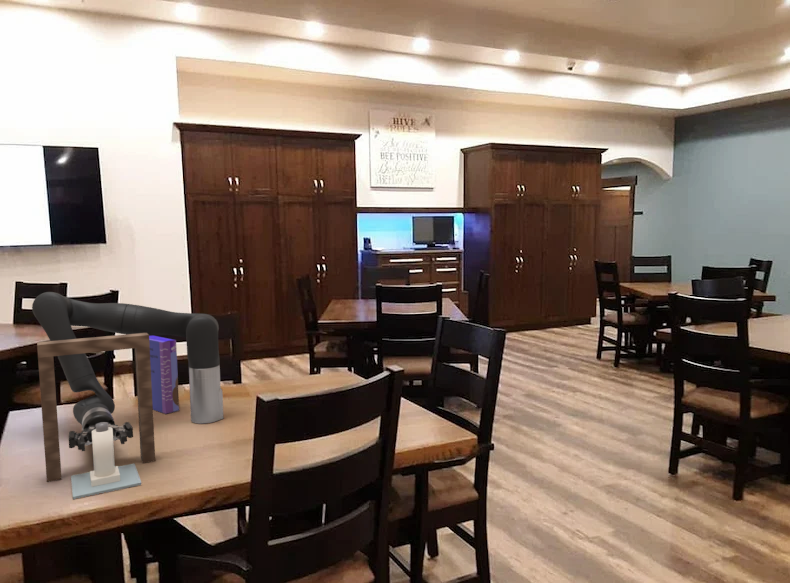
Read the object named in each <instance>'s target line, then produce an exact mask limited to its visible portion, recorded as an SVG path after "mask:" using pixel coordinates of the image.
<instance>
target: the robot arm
mask: <svg viewBox="0 0 790 583" xmlns="http://www.w3.org/2000/svg"><path fill="white" fill-rule="evenodd" d="M31 310H32V314H33V315H34V317H35V318H36V320H37V321H38V323H39V324H40V326H41V327H42V329H43V330H44V332H45V333H46V335H47V338H48V339H49V341H58V340H69V339H77V337H76V335H75V332H74V331H73V328H72V327H84V328H86V327H87V328H92V329H96V330H101V331H104V332H110V333H114V334H119V335H126V334H138V333H148V334H149V336H175V337H181V338H186V340H185V341H186V342H185V343H186V357H187V361H188V377H189V378H188V380H189V381H188V382H189V383H188V384H189V403H190V405H189V406H190V407H189V408H190V409H189V410H190V422H192V423H194V424H209V423H210V424H211V423H214V422H218V421H221V420H224V400H223V389H222V388H221V369H220V368H221V367H220V362H221V361H220V353H219V329H220V327H219V326H220V325H219V322H218V320H217V319H216V318H215V317H214V316H212V315H211V314H207V313H195V312H194V313H192V312H175V311H170V310H166V309H161V308H156V307H151V306H150V307H149V306H144V305H139V304H133V303H132V304H130V303H123V302H121V303H119V302H108V303H107V302H105V303H103V302H102V303H95V302H87V301H81V300H77V299H73V298H69V297H66V296H64V295H63V294H60V293H58V292H53V291H46V292H43V293H40V294H39V295H37V296H36V297H35V299H33V302H32V305H31ZM57 359H58V361H59V363H60V366H61V368H62V370H63V373H64V376H65V378H66V381H67V383H68V385H69V388H70V390H71V391H72V392H73V393H80V392H81V393H82V392H86V391H87V392H88V391H91V392H93V393H95V394H94V395H91V396H90V397H86V398H84V399H81V400H79V401H78V402H76V403H75V404H74V406H72V413H73V414H72V415H73V417H74V418H75V420H76V421H77V423H79V425H81V432H77V431H75V430H70V431H69V432H68V449H74V448H75V447H77V450H78V451H81V452H85V451H86V446H90V445H92V430H94V429H96V424H97V423H100V422H108V427H112V428H113V442H115V441H118V440H119V442H120V445H124V444H125V443H126V442H128V439H132V438H134V431H133V430H134V427H133V425H132V424H131V423H130V422H129V421H126V422H124V423H123V424H122V425H120V426H119V425H118V424H116V423H115V420H114V417H113V413H114V411H115V408H116V405H115V402H114V400H113V397H111V395H110V394H109V393H108V392H107V391H106V389H104V387H103V386H102V385H101V384H100V383H101V382H99V380H98V378H97V377H96V374H95V372H94V369H93V366H92V364H91V362H90V360H89V358H88V356H87V353H82V354H72V355H62V356H57Z"/></svg>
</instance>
